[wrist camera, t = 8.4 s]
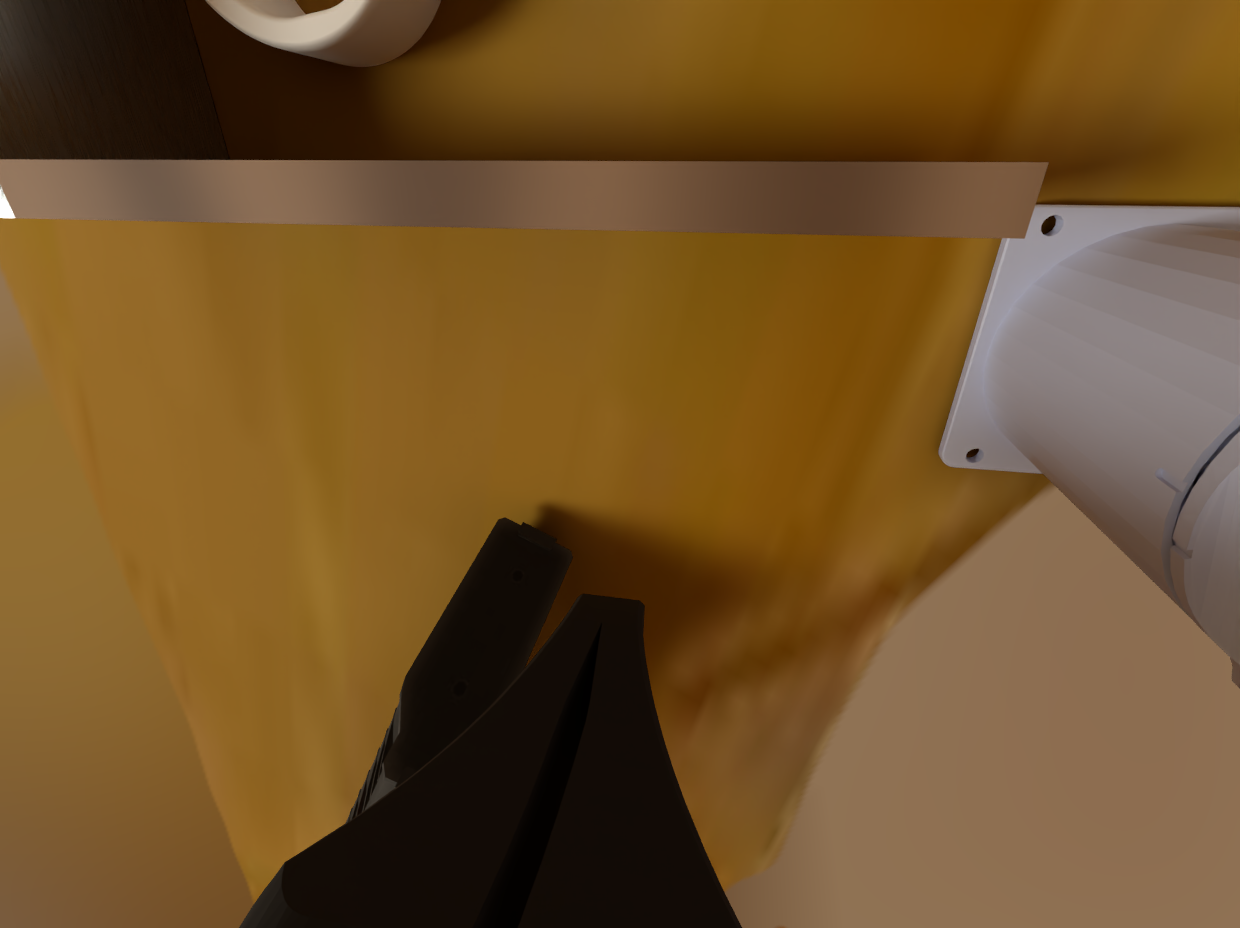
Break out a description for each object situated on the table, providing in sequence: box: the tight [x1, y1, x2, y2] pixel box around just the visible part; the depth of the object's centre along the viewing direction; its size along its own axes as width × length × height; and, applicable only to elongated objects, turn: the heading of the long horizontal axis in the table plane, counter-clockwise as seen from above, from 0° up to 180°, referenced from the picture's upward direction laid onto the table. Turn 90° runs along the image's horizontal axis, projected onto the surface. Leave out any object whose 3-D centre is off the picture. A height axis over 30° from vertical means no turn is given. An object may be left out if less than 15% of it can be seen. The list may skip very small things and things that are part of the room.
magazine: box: [345, 518, 573, 824], centre depth 26 cm, size 17×3×30 cm
